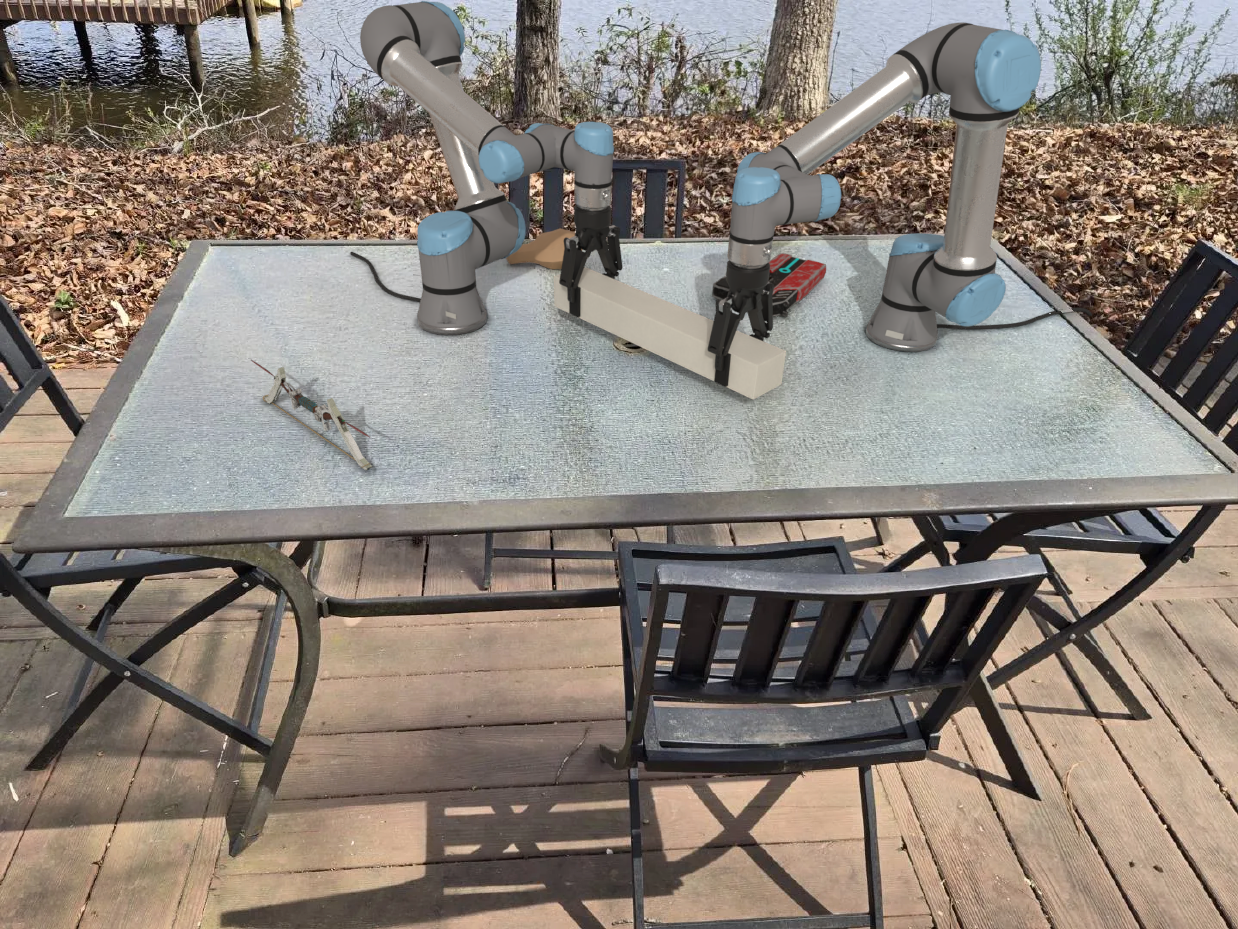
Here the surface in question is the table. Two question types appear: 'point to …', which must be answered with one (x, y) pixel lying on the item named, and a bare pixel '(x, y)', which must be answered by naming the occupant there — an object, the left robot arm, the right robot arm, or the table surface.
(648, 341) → the wide beam
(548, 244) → the squash
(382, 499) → the table surface
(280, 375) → the bow
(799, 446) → the table surface
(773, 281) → the gun
